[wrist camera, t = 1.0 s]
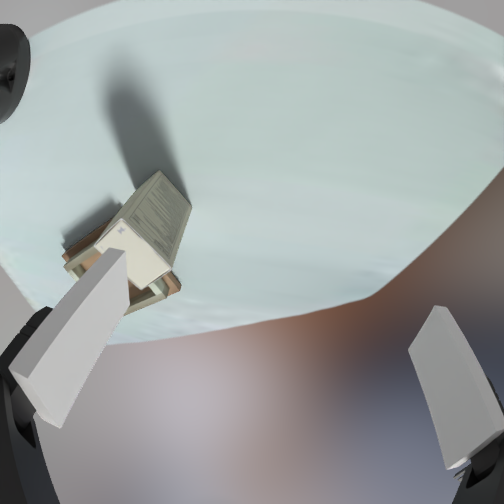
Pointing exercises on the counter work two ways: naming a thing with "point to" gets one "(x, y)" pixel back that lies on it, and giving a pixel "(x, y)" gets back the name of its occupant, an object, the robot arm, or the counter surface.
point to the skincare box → (148, 230)
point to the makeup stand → (87, 255)
